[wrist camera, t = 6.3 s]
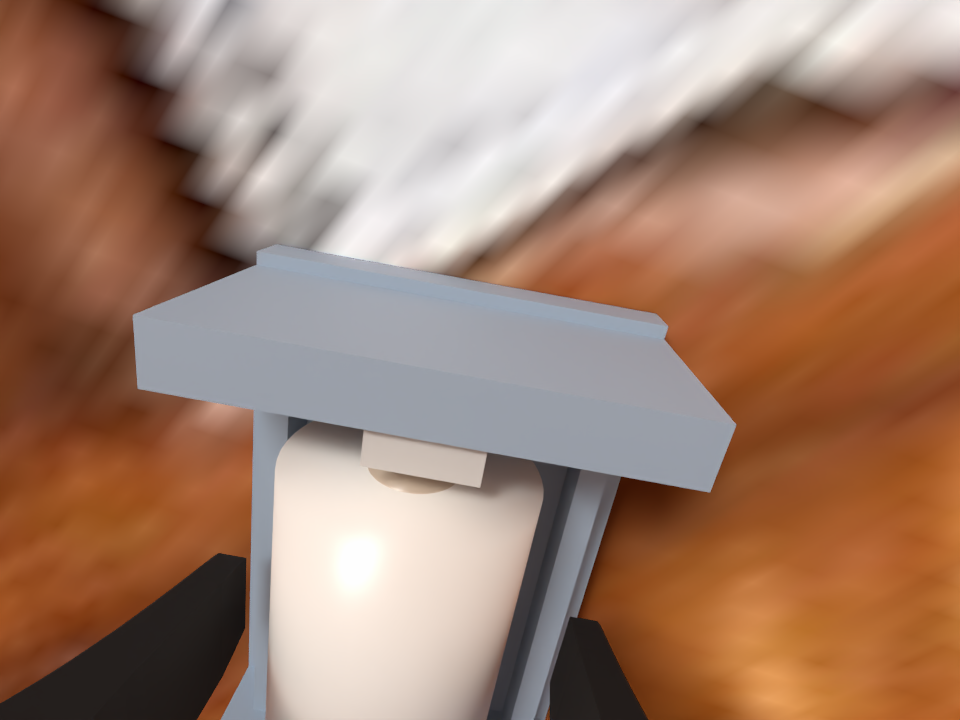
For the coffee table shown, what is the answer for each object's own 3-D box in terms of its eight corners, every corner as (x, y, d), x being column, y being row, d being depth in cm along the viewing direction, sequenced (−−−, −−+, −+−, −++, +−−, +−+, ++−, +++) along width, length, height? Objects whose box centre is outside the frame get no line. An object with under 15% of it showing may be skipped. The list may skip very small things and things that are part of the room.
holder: (533, 720, 17) (540, 926, 13) (262, 671, 17) (169, 860, 13) (656, 313, 12) (743, 406, 8) (276, 244, 12) (131, 294, 8)
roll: (469, 659, 16) (480, 875, 11) (295, 647, 15) (228, 869, 10) (524, 417, 13) (570, 571, 8) (312, 390, 12) (229, 540, 8)
